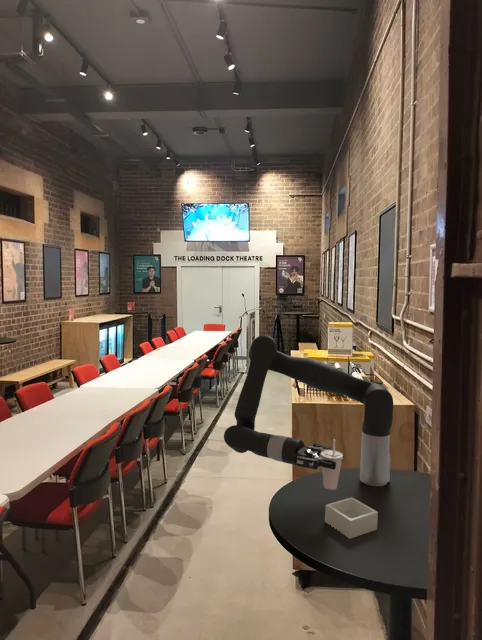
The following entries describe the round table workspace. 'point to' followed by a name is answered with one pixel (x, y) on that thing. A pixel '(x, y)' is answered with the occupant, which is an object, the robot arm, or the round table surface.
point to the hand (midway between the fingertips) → (339, 461)
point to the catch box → (351, 517)
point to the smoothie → (329, 474)
